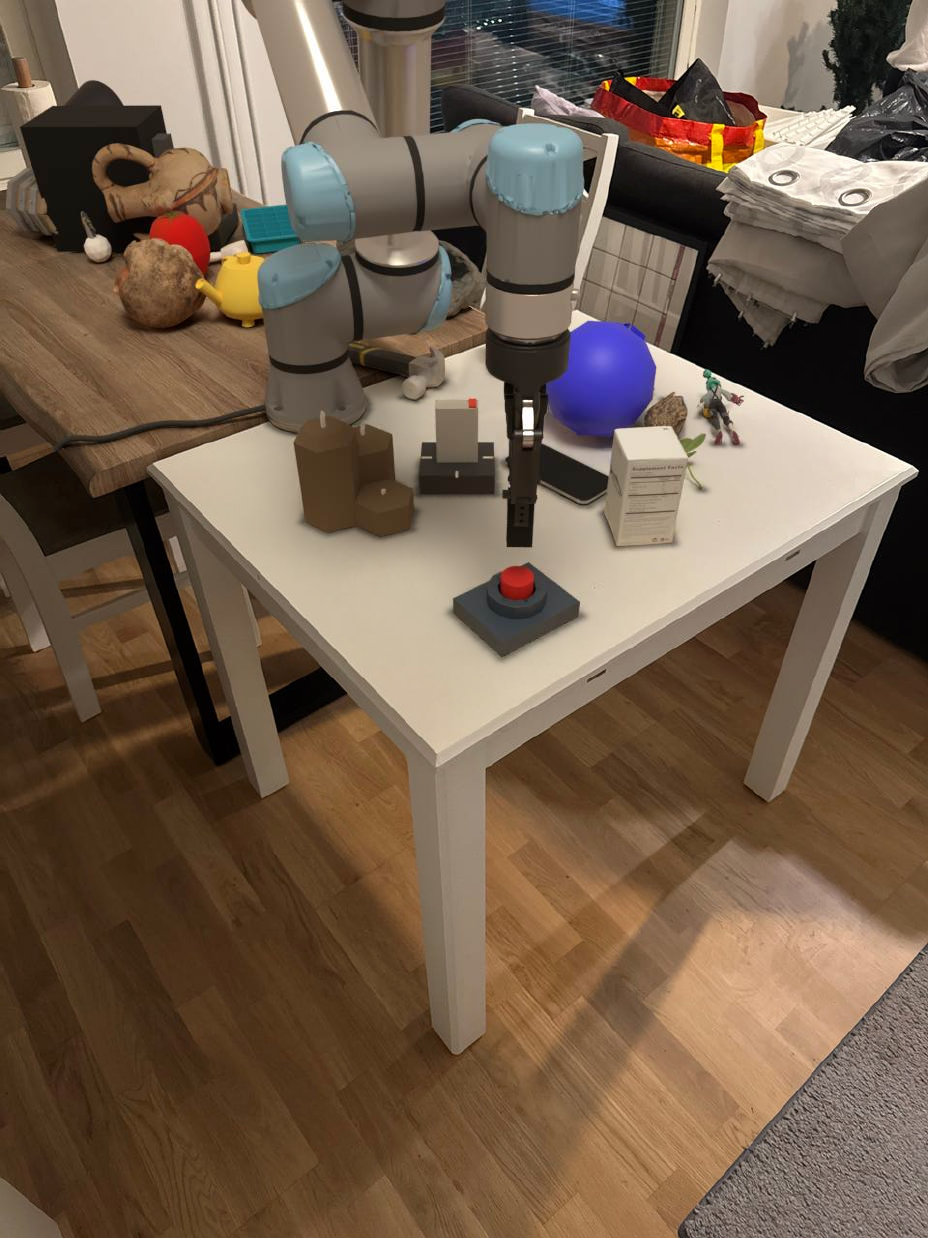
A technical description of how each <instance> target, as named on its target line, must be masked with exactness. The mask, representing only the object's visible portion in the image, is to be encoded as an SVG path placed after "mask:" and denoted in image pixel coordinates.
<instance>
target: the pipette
mask: <svg viewBox="0 0 928 1238" xmlns="http://www.w3.org/2000/svg"><path fill="white" fill-rule="evenodd" d="M239 252H249V250H248V246H247V244H246V242H245V240H244V239H242V240H238V241H235V242H232V243H229V244H227V245H224V247H223V248H222V249H220V251H216V252H215V251H213V252H210V261H209V263H214V262H218V261H222V259H223V258H224V257H225V256H228V255H231V256H233V257H236V254H237V253H239Z"/></svg>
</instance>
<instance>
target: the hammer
mask: <svg viewBox="0 0 928 1238" xmlns="http://www.w3.org/2000/svg"><path fill="white" fill-rule="evenodd" d="M348 350H349V358H350V361H351V363H352V364H355V365H361V366H364V367H367V368H372V369H375V370H376V369H377V370H380V371H384V372H388V373H392V374H395V375H400V376H404V377H408V378H406V379H405V380H404V381H403V382H402V386H401V388H402V392H403V394H404V396H405V397H406V398H408V399H410V400H415V401H416V400H418V399H419V398H421V397H422V396H423V395H424V394H425V392H426V390H427V388H438V387H439V386H440V385H441V384H442V383H443V382H444V380H445V379H446V360H445V355H444V354H443V353H442V351H440V350H438V349H437V348H436V347H434V346H432V345H429V357H428V356H423V355H418V356H414V355H409V354H406V353H400V352H396V351H392V350H388V349H383V348H380V347H375V346H372V345H368V344H365V343H359V342H358V341H353V342H348Z"/></svg>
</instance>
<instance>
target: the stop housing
mask: <svg viewBox="0 0 928 1238" xmlns="http://www.w3.org/2000/svg"><path fill="white" fill-rule="evenodd" d="M520 566H523V567H526V568H528V569H529V570H531V571H532V573H533V575H534V583H533V593H532V595H531V596H530V597H528V598H527V599H523V600H512V599H509V598H506V597H505V596H503V594H502V593H501V590H500V589H501V573H502V572H503V570H501V571H499V572H498V573H495V574H493V575H492V576H491V578H490V579H489V580H488V581H486V582H483V583H482V584H480V585H478V586H476V587H473V588H472V589H469V590H467V591H465V592H463V593H461V594H458V595H457V596H454V597H453V598H452V612H453V614H454V615H455V616H456V617H457V618H458V619H459V620H461V622H463V623H464V624H465V625H466V626H467V627H468V628H470V629H471V630H472V631H473V632H474V633H475V635H477V636H478V637H479V638H480V639H482V640H483V641H484V642H485V643H486V644H487V645H488V646H489V647H491V648H492V649H493V650H494V651H495V652H496V653H497V654H498V655H499V656H501V657H502V658H503V657H504V656H507V655H509V654H511V653H513V652H514V651H516V650H518V649H519V648H522V647H523V646H525V645H528V644H529V643H531V642H533V641H535V640H536V639H539V638H540V637H542V636H544V635H546V634H548V633H550V632H551V631H554V630H556V629H557V628H559V627H561V626H563V625H564V624H567V623H568V622H570V621H572V620H574V619H576V618H578V617H579V616H580V615H579V614H580V606H581V601H580V600H578V599H577V598H576V597H575V596H573V595H572V594H571V593H569V592H568V591H567V590H566V589H565V588H563V587H562V586H560V585H559V584H558V583H557V582H555V581H554V580H552V579H551V578H550V577H549V576H547V575H546V574H545V573H544V572H542V571H541V570H540V569H539V568H537V567H536V566H535V565H534V564H532V563H531V562H529V561H528V562H526V563H523V564H521V565H520Z"/></svg>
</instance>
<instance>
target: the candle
mask: <svg viewBox="0 0 928 1238" xmlns="http://www.w3.org/2000/svg"><path fill="white" fill-rule="evenodd" d="M393 436H394V435H393V433H392V432H388V431H386V430H383V429H381V428H378V427H376V426H374V425H371V424H368V423H366V424H360V425H357V426H352V425H351V424H350V425H348V424H347V423H345V422H343V421H341V420H338V419H336V418H333V417H331V416H325V413H324V411H321V413H320V418H315V419H311V420H308V421H307V422H306V423H305V424H304V425H302V426H301V428H300V430H299V432H298V433H296V437H295V438H294V440H293V451H294V455H295V462H296V469H297V475H298V482H299V488H300V494H301V502H302V508H303V515H304V521H305V523H307V524H309V525H311V526H312V527H315V528H317V529H319V530H321V531H324V532H326V533H332V532H337V531H341V530H345V529H348V528H352V527H359V528H361V529H362V530H365V531H367V532H369V533H372V534H373V535H376V536H378V537H384V536H388V535H392V534H395V533H399V532H403V531H404V532H405V531H407V530H410V529H411V525H412V522H413V518H414V514H415V499H414V488H413V487H411V486H408V485H406V484H403V483H401V482H398V481H397V480H396V466H395V450H394V437H393Z"/></svg>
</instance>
